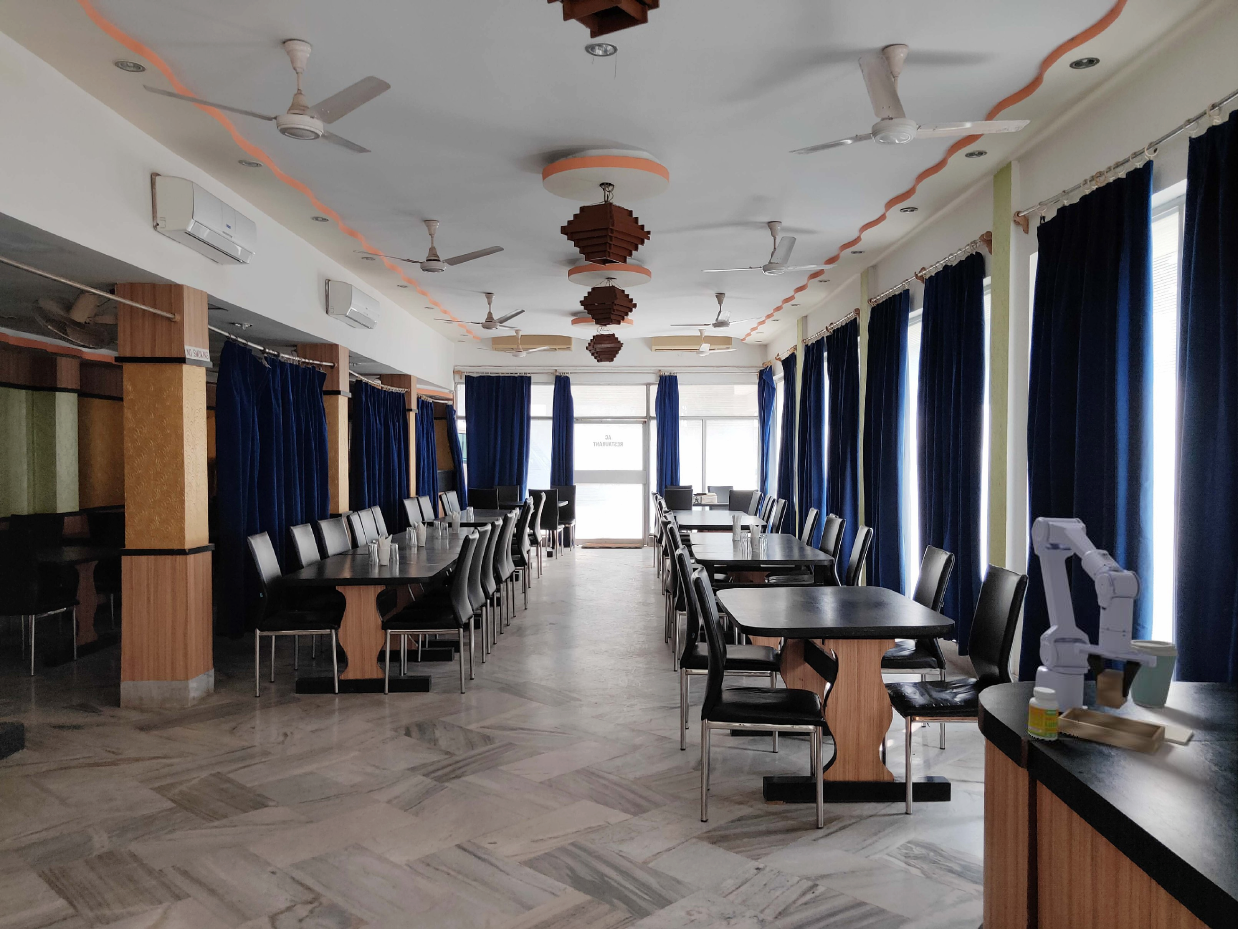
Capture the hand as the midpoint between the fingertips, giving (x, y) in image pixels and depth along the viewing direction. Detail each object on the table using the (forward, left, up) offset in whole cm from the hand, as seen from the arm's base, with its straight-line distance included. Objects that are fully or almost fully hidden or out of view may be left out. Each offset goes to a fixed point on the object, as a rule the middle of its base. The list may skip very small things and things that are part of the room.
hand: (1112, 694), depth 168 cm
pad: (+7, +11, -9) cm, 16 cm away
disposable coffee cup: (+1, +33, -9) cm, 34 cm away
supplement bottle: (-10, -11, -9) cm, 17 cm away
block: (0, 0, -2) cm, 2 cm away
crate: (0, 0, -9) cm, 9 cm away
